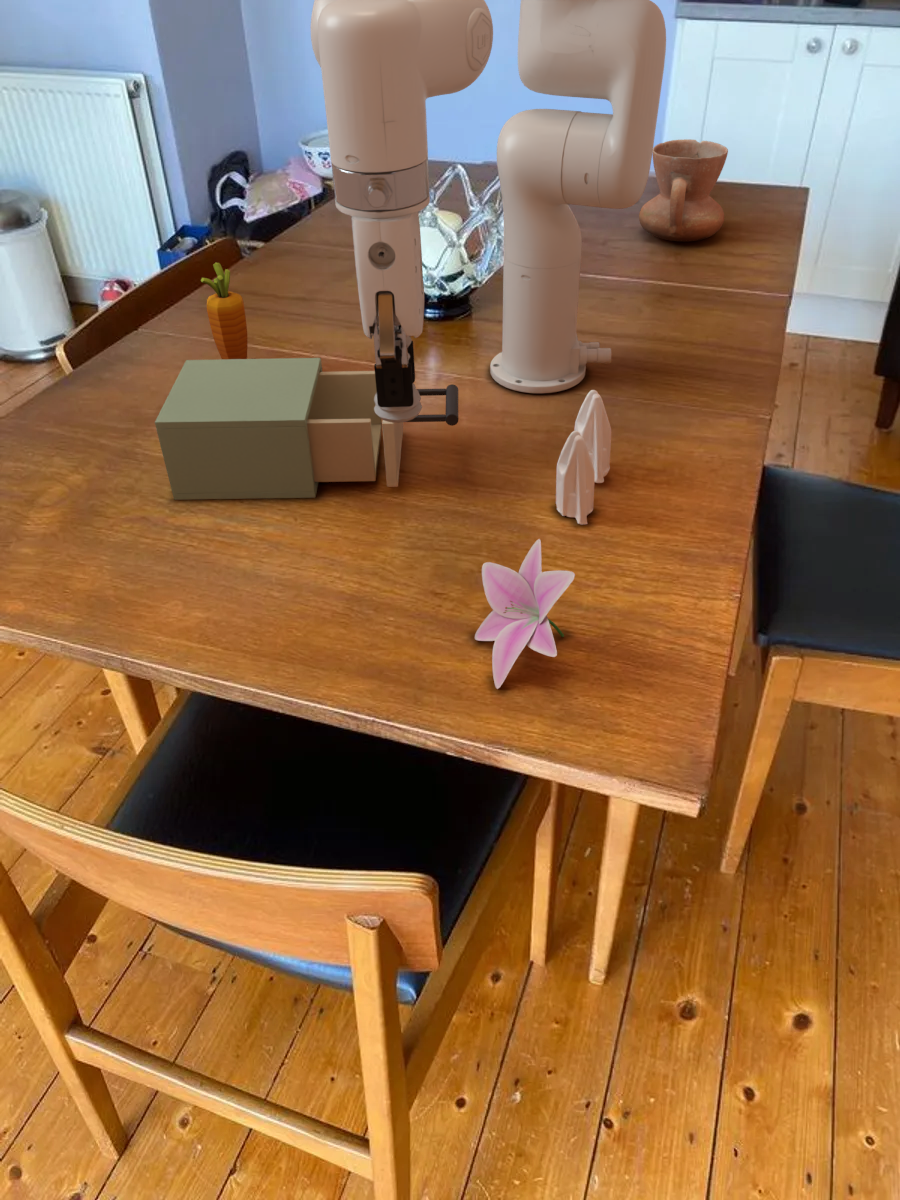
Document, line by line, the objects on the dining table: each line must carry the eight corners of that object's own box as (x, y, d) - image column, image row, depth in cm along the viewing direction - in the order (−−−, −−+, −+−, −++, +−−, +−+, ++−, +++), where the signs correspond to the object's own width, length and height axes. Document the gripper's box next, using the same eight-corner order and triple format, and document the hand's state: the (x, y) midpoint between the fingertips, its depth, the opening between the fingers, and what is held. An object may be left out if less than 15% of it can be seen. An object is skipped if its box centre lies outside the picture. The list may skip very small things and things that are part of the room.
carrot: (249, 387, 123) (229, 274, 113) (213, 385, 124) (191, 272, 114) (262, 370, 127) (244, 260, 117) (228, 368, 127) (207, 258, 118)
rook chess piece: (366, 419, 86) (358, 338, 81) (386, 397, 89) (380, 317, 84) (410, 428, 85) (405, 345, 79) (429, 404, 88) (426, 323, 82)
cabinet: (329, 431, 114) (320, 357, 108) (315, 497, 102) (304, 419, 96) (201, 433, 114) (186, 359, 108) (173, 499, 103) (154, 422, 97)
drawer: (459, 425, 112) (458, 364, 107) (459, 485, 102) (458, 422, 97) (283, 427, 113) (274, 367, 108) (265, 488, 102) (254, 425, 97)
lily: (489, 600, 90) (445, 547, 83) (607, 572, 85) (571, 513, 78) (489, 714, 83) (441, 667, 76) (616, 690, 79) (578, 638, 72)
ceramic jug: (649, 215, 172) (659, 132, 163) (729, 224, 168) (743, 138, 159) (624, 248, 160) (633, 159, 151) (709, 258, 155) (724, 167, 146)
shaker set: (578, 462, 107) (584, 372, 100) (614, 468, 106) (623, 378, 99) (548, 518, 98) (553, 425, 91) (586, 526, 97) (595, 432, 90)
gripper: (426, 218, 67) (436, 440, 79) (431, 151, 80) (439, 351, 92) (322, 221, 67) (348, 442, 79) (343, 154, 80) (362, 353, 92)
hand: (396, 391), depth 85 cm, fingers closed on rook chess piece, 3 cm apart
